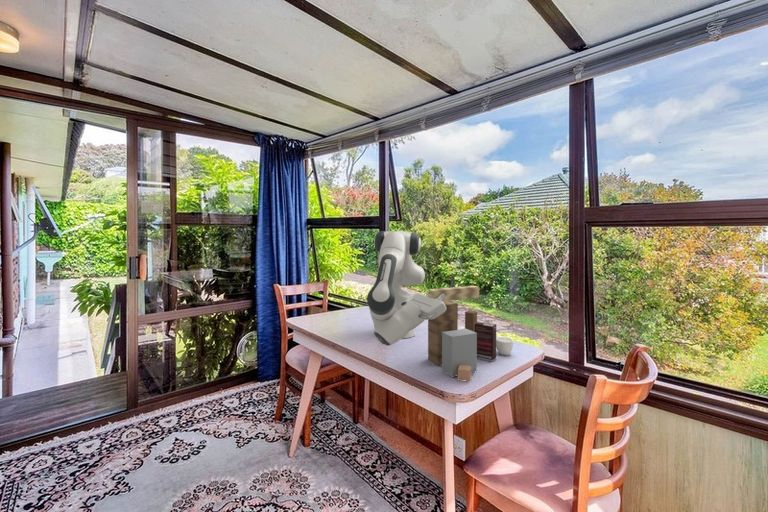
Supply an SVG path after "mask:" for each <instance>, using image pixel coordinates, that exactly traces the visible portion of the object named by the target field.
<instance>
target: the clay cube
mask: <svg viewBox="0 0 768 512" xmlns="http://www.w3.org/2000/svg"><path fill="white" fill-rule="evenodd" d="M458 379H459V380H458ZM471 379H472V373H471V366H466V365H459V367H458V376H457V380H458V381H460V380H466V381H465V382H467V381H470V382H471Z"/></svg>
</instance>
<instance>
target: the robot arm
mask: <svg viewBox="0 0 768 512" xmlns="http://www.w3.org/2000/svg"><path fill="white" fill-rule="evenodd" d="M420 237H421V236H420V235H419V234H418V233H416V232H408V231H405V230H394V231H393V230H391V231H390V230H389V231H386V230H380V231H378V232H377V233H375V237H374V239H373V246H374V250H376V252H378V270H377V276H376V280H375V282H374V284H373V286H372V287H371V289H369V291H368V293H367V296H366V303H367V305H368V309H369V313H370V317H371V320H372V323H373V328H374V329H373V330H374V332H373V333H374V336H375V338H376V339H377V340H378V341H379V342H381V344H382V345H385V346H392V345H394V344H395V343H397V342H399V341H400V340H402V339H409V338H412V337H414V336H415V332H414V331H415V330H414V329H416V328H417V327H419V326H420V325H421V324H422V323H424V322H425V320H426V321H428V319H434V318H436V317H438V316H439V315H441V314H442V313H444V312H445V311H446V309H447V308H446V306H445V304H444V302H443V301H442V300H443V299H444V298H445V294H443V293H441V294H439V297H438V298H436V299H433V298H430V297H429V293H428V294H425V295H424V294H420V293H418V292H417V293H415V294H413V295H411V294H410V293H409V292H407V291H405V290H403V289H402V288H401V286H417V285H421V284H422V283H423V282H424V281H425V278H426V272H425V270H424V268H423V267H422V266H420V265H418V264H417V263H416V262H415V261H414V260H413V257H412V256H415V255H417V254H418V253H419V252H420V250H421V247H422V240H421V238H420Z"/></svg>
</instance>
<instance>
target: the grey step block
mask: <svg viewBox="0 0 768 512" xmlns="http://www.w3.org/2000/svg"><path fill="white" fill-rule="evenodd" d="M477 359H478V358H477V333H476V332H473V331H471V330H468V329H465V328H461V329H458V330H453V331H446V332H442V365H441V371H442V370H443V371H442V372H444V373H445V372H446V373H445V374H447V373H448V374H449V376H450V375H451V376H454V377H457V376H456V375H458V367H459V365H466V366H471V372H472V373H476V372H477V363H478V362H477V361H478V360H477ZM475 371H476V372H475ZM448 374H447V375H448ZM451 376H450V377H451Z"/></svg>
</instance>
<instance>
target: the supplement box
mask: <svg viewBox="0 0 768 512" xmlns="http://www.w3.org/2000/svg"><path fill="white" fill-rule="evenodd" d="M475 332H476V333H477V359H478V360H482V361H483V360H484V361H487V362H494V361H495V360H497V348H496V338H497V324H496V323H495V324H494V323H489V322H482V321H477V323H475Z"/></svg>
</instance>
